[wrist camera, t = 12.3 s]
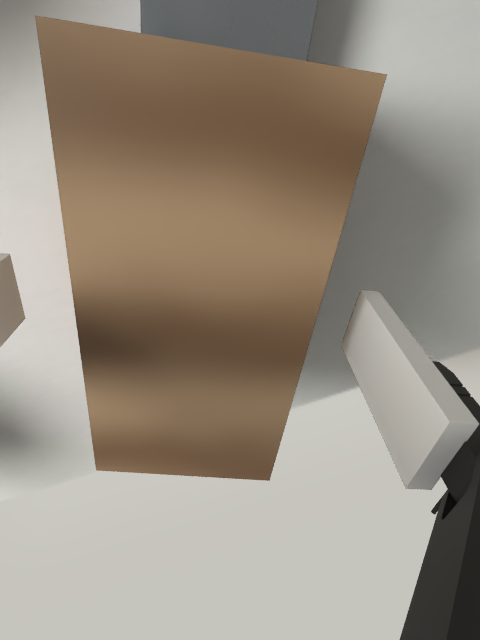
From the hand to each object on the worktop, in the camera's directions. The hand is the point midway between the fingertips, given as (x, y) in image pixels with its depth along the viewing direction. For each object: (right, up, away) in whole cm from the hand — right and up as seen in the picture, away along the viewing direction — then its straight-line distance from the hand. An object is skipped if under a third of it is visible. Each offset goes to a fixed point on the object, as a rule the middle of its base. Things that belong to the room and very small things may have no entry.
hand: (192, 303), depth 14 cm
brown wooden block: (0, +3, +4) cm, 5 cm away
